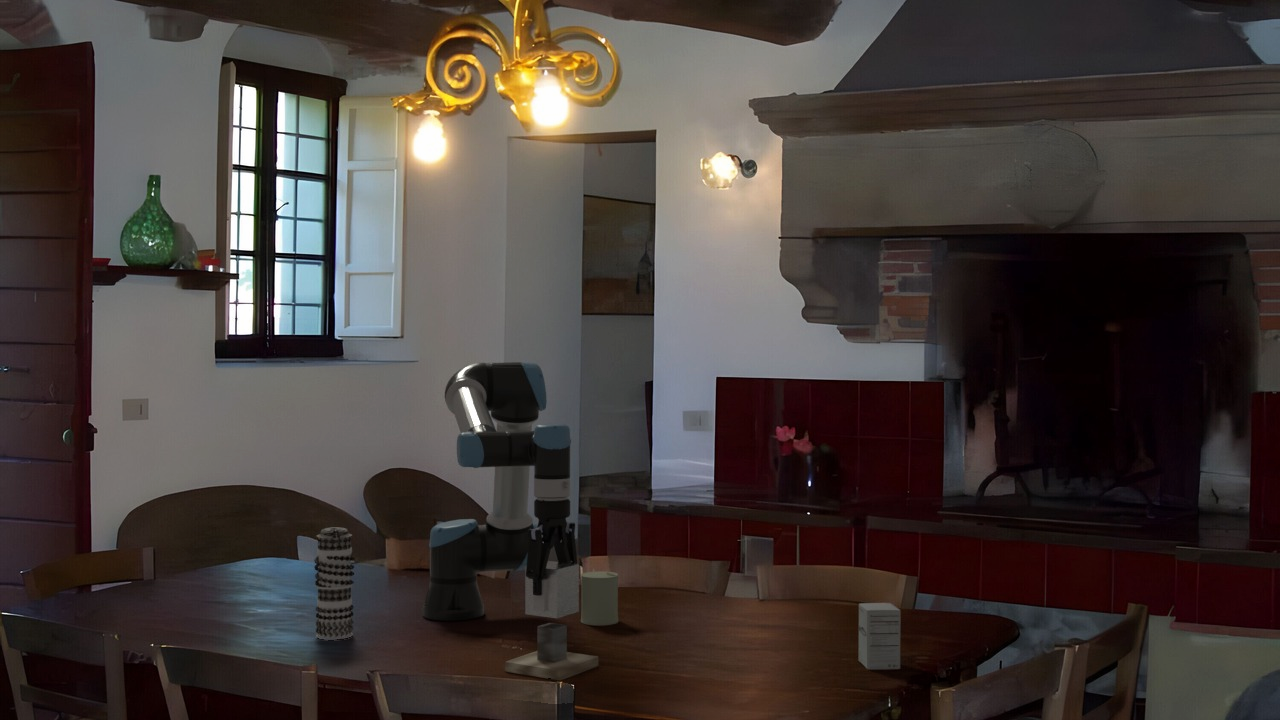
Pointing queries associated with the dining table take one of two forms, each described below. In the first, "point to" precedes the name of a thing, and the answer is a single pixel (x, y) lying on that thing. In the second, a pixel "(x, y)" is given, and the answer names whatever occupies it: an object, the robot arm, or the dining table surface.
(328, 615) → the white and black cylinder
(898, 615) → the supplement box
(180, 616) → the dining table surface
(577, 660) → the post board
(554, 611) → the grey foam block
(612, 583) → the can
